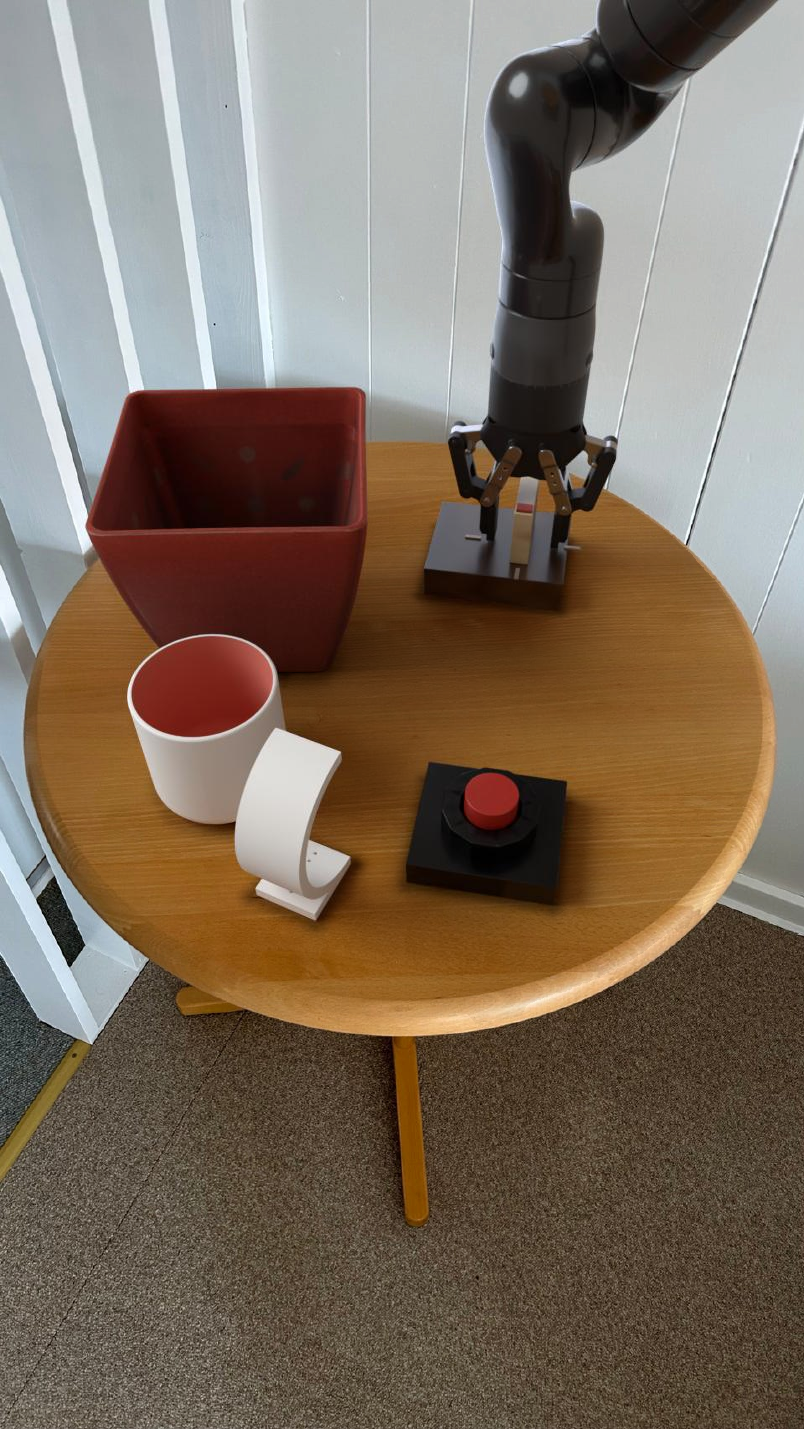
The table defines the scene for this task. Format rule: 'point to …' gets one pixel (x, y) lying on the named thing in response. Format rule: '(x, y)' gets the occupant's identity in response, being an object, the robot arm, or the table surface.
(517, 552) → the handle
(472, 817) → the button
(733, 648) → the table surface
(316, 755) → the headphone stand
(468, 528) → the panel
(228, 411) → the plant pot
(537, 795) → the button block
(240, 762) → the cup
